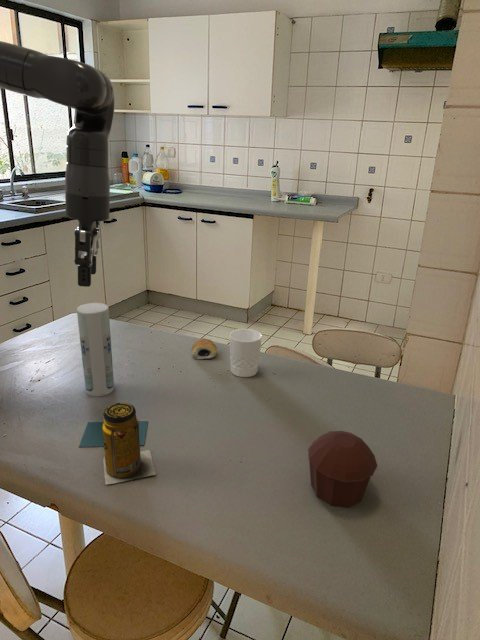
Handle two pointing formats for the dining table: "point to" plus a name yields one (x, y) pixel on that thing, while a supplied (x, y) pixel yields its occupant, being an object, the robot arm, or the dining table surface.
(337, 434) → the muffin
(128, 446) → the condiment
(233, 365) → the white cup
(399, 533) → the dining table surface
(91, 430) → the mat
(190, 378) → the dining table surface
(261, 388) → the dining table surface
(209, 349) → the pastry
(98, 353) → the spray can
